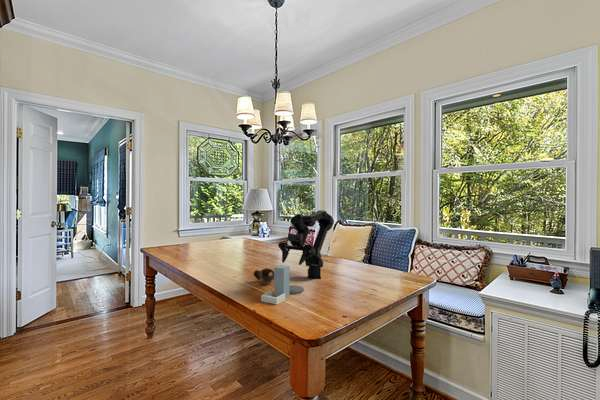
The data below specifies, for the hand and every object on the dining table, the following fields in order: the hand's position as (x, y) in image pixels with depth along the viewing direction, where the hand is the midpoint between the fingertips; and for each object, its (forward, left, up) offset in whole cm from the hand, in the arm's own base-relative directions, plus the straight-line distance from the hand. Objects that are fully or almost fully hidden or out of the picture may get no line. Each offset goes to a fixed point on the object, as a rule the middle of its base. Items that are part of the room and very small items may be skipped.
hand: (290, 263), depth 137 cm
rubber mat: (0, 0, -13) cm, 13 cm away
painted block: (+5, +7, -13) cm, 15 cm away
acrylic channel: (+8, +12, -13) cm, 20 cm away
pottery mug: (+13, -14, -13) cm, 23 cm away
